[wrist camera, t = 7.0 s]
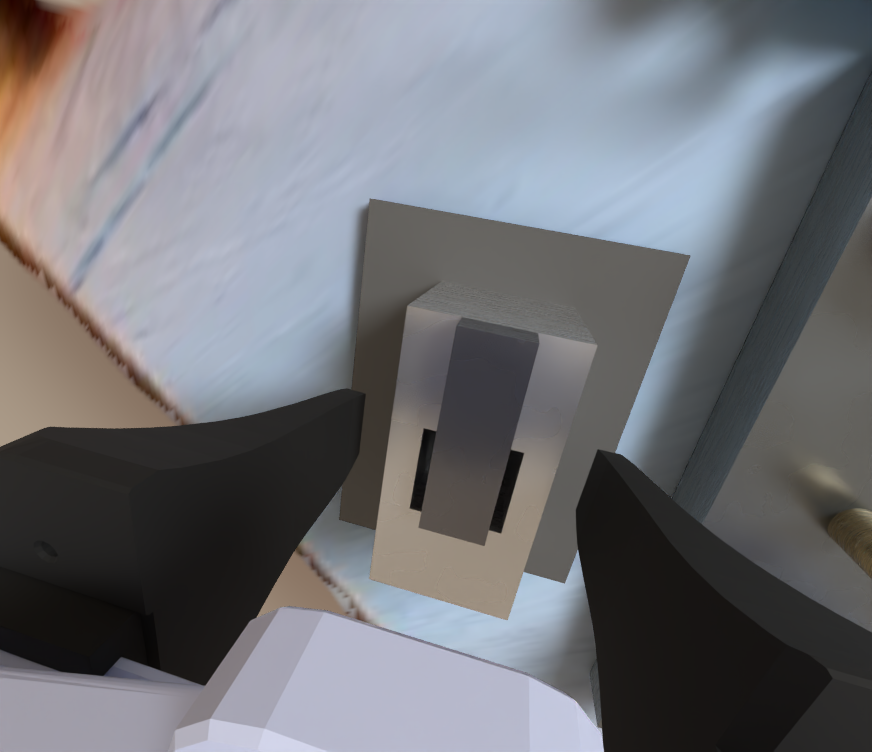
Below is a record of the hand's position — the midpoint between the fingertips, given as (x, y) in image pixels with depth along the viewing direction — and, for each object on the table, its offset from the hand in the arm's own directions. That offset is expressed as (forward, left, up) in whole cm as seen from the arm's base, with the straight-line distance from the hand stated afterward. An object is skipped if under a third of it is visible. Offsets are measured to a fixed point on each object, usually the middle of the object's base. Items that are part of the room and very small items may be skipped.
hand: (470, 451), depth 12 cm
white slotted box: (0, 0, -2) cm, 2 cm away
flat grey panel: (0, 0, -3) cm, 3 cm away
